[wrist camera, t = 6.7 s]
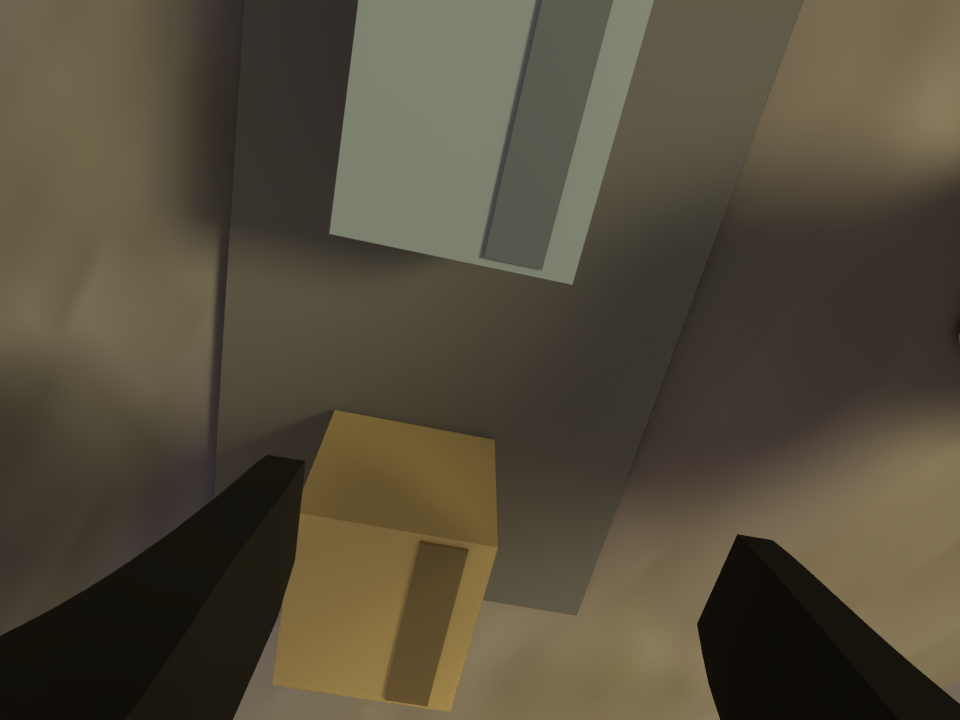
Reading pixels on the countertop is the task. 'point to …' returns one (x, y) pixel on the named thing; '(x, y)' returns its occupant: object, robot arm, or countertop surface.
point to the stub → (389, 562)
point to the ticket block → (483, 126)
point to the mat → (482, 283)
